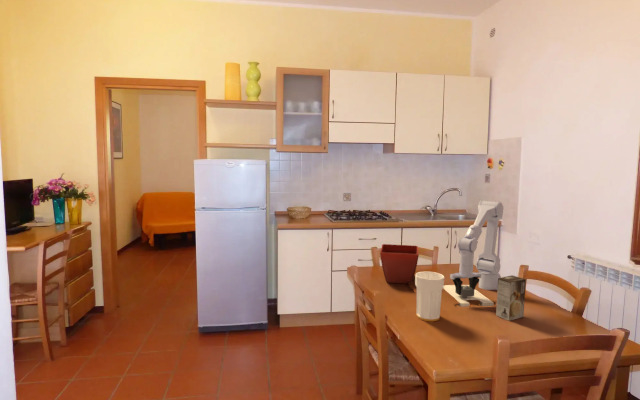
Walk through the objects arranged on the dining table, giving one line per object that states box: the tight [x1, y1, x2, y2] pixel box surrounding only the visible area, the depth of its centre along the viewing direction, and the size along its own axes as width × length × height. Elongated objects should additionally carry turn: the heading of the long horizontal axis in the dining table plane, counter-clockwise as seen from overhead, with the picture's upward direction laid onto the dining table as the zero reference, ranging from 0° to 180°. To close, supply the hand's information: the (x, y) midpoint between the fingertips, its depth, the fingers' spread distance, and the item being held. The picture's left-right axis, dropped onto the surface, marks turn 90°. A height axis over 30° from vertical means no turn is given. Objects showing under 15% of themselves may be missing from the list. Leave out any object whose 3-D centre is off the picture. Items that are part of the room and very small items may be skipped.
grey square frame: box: [455, 286, 474, 297], centre depth 177 cm, size 6×6×3 cm
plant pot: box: [379, 243, 420, 285], centre depth 206 cm, size 19×19×17 cm
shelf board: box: [442, 284, 495, 308], centre depth 182 cm, size 15×24×6 cm, turn 4°
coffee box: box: [495, 275, 527, 322], centre depth 160 cm, size 9×6×16 cm
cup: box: [414, 270, 445, 322], centre depth 158 cm, size 11×11×17 cm
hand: (464, 293), depth 177 cm, fingers closed on grey square frame, 6 cm apart
